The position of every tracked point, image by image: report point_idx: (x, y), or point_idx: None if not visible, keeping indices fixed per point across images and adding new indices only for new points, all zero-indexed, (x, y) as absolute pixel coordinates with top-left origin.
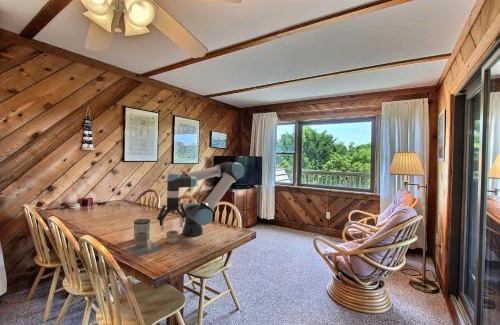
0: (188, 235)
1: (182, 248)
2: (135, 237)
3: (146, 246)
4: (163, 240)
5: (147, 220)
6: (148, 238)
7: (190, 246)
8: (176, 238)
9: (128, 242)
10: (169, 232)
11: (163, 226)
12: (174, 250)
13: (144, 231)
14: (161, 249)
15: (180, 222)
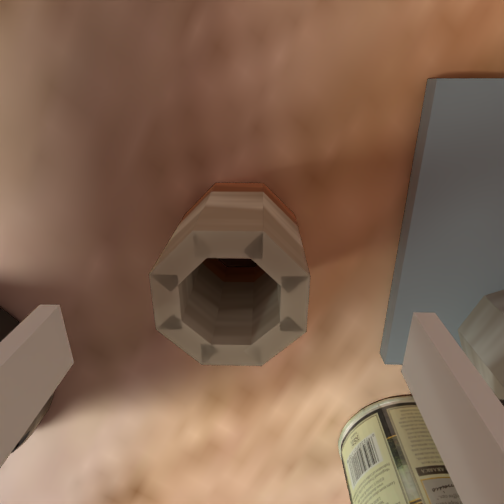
0: (10, 326)
1: (212, 30)
2: None
3: (494, 292)
4: None
5: None
6: (384, 428)
7: (101, 27)
8: (210, 204)
9: None
10: (255, 335)
11: (457, 368)
12: (319, 32)
13: None
14: (451, 109)
15: (23, 409)
